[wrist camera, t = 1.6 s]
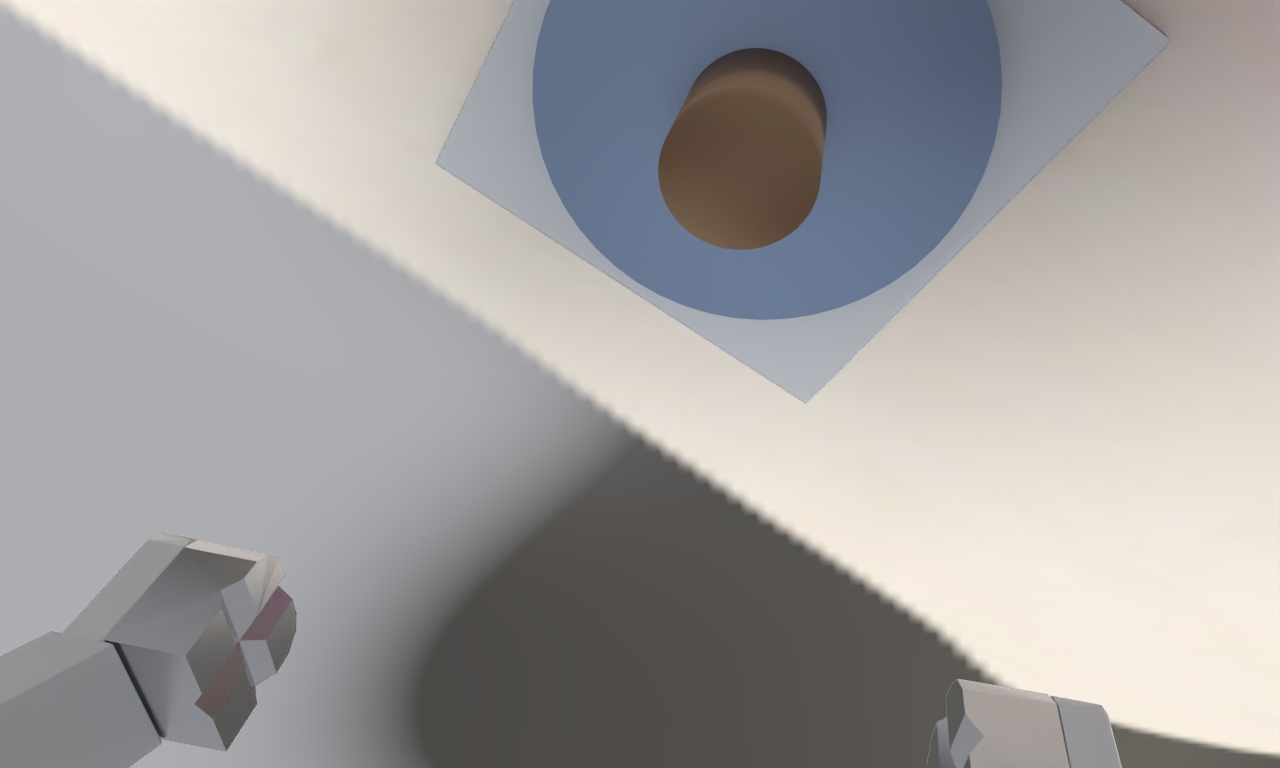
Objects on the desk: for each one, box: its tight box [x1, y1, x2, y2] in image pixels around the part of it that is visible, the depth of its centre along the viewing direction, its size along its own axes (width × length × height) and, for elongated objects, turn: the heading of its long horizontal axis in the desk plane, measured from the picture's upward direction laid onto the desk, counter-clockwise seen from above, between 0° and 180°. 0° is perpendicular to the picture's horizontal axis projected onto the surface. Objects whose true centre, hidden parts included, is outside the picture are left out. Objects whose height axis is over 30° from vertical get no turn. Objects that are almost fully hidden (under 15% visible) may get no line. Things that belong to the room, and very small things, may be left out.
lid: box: [532, 0, 1002, 320], centre depth 24 cm, size 13×13×5 cm
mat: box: [435, 0, 1171, 404], centre depth 26 cm, size 15×15×1 cm
